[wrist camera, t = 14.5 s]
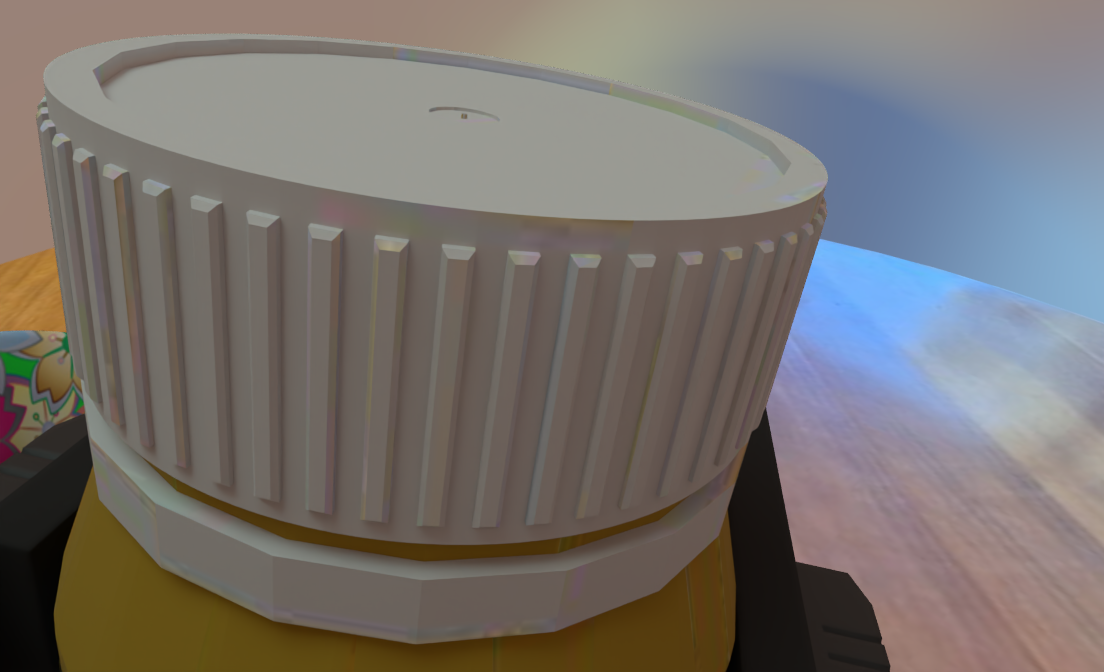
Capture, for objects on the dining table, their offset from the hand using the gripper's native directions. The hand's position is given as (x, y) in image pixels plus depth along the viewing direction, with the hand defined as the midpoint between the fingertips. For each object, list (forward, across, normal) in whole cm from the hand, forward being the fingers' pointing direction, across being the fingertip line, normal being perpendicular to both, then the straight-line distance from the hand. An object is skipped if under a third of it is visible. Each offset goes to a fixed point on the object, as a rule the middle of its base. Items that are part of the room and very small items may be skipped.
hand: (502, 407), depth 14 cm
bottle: (-5, 0, -9) cm, 10 cm away
